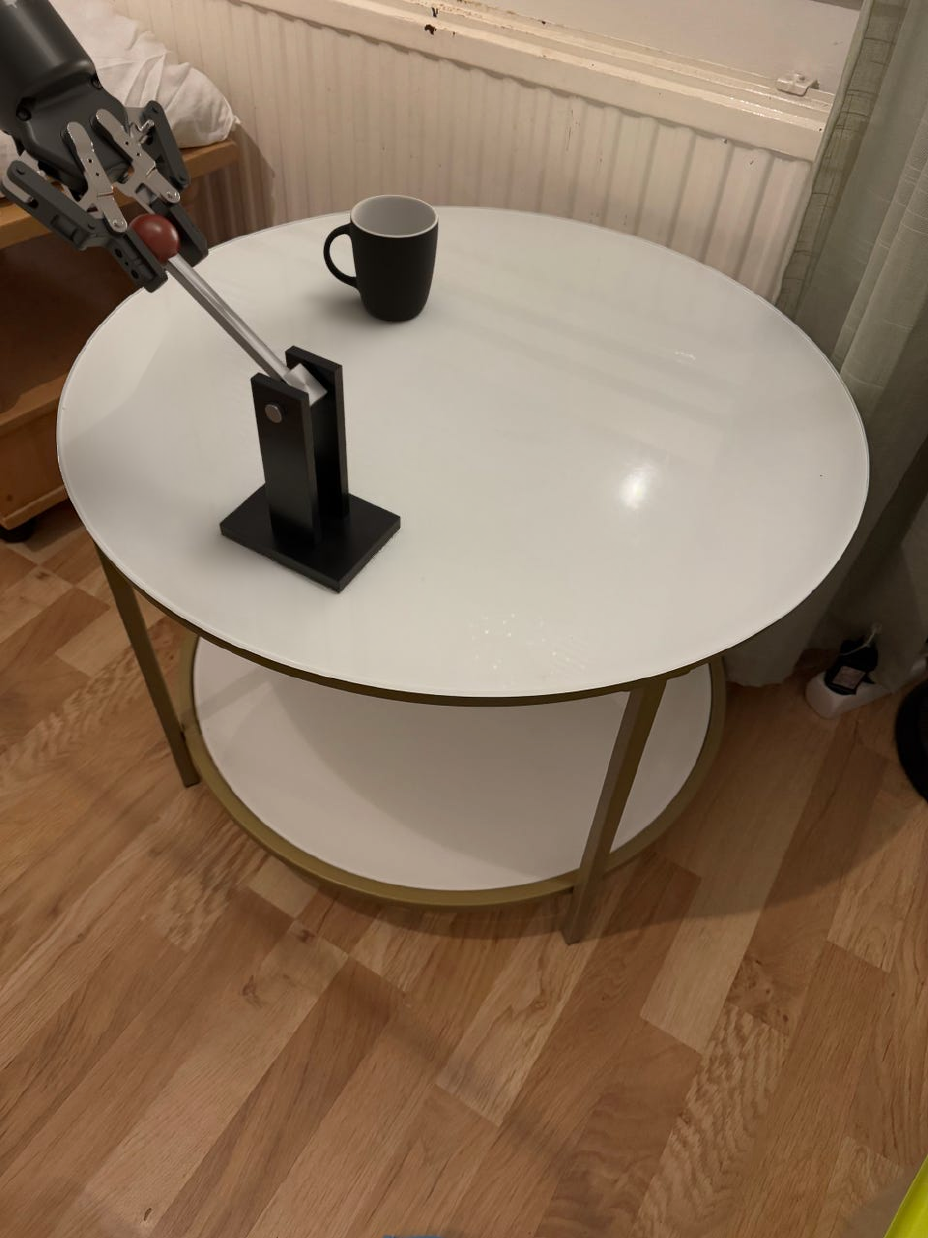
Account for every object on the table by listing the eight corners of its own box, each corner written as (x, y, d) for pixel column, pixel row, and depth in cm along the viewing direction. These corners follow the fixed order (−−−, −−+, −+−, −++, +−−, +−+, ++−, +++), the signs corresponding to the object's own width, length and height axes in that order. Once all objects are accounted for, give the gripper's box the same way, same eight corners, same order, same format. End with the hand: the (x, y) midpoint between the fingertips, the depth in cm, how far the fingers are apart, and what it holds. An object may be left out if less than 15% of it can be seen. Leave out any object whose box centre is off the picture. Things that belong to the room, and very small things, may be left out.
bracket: (220, 534, 75) (187, 373, 63) (287, 475, 80) (268, 315, 68) (339, 593, 72) (329, 435, 60) (400, 527, 77) (402, 369, 65)
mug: (439, 288, 102) (442, 198, 94) (430, 332, 96) (433, 240, 88) (333, 277, 102) (328, 187, 94) (318, 321, 96) (311, 228, 89)
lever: (109, 248, 63) (121, 214, 60) (145, 227, 65) (158, 193, 62) (288, 431, 66) (307, 407, 63) (317, 406, 68) (337, 382, 65)
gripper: (-81, 25, 50) (131, 295, 57) (102, -32, 59) (270, 209, 65) (-110, 101, 56) (87, 340, 62) (62, 39, 64) (220, 255, 70)
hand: (180, 272), depth 64 cm, fingers closed on lever, 3 cm apart
